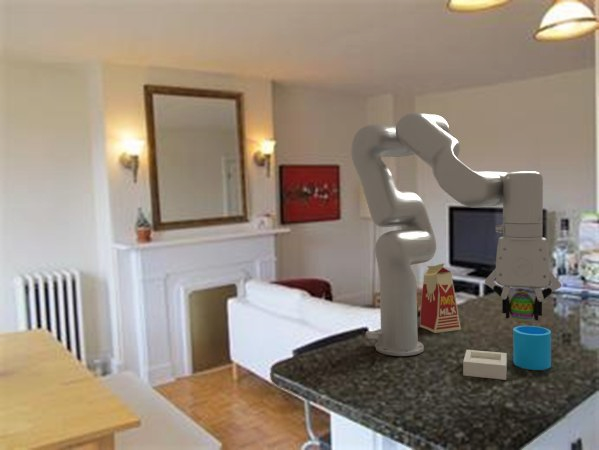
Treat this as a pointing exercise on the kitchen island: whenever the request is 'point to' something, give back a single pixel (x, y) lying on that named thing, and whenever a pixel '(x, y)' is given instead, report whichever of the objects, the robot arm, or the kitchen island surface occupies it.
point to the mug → (532, 347)
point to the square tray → (485, 364)
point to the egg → (522, 306)
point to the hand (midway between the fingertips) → (521, 317)
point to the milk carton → (439, 301)
